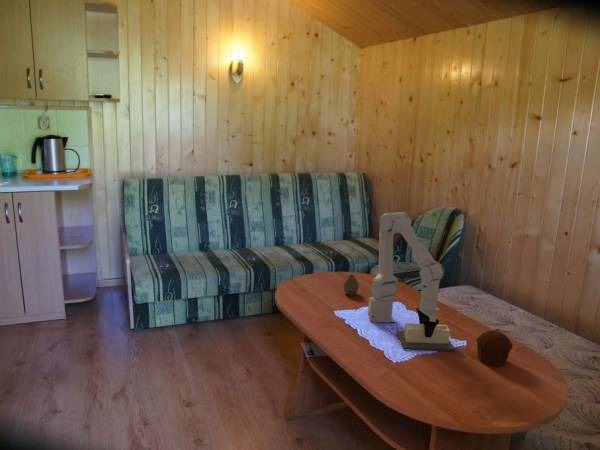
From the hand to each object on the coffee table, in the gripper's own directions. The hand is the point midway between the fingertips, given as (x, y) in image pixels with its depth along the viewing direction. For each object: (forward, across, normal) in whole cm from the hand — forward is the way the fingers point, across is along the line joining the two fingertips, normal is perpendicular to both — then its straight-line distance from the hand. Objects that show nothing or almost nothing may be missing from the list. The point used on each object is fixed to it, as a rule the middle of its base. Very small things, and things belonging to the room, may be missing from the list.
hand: (425, 332), depth 179 cm
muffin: (+4, -12, -20) cm, 24 cm away
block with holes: (+3, 0, 0) cm, 3 cm away
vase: (+4, +47, +22) cm, 52 cm away
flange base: (+4, 0, 0) cm, 4 cm away
